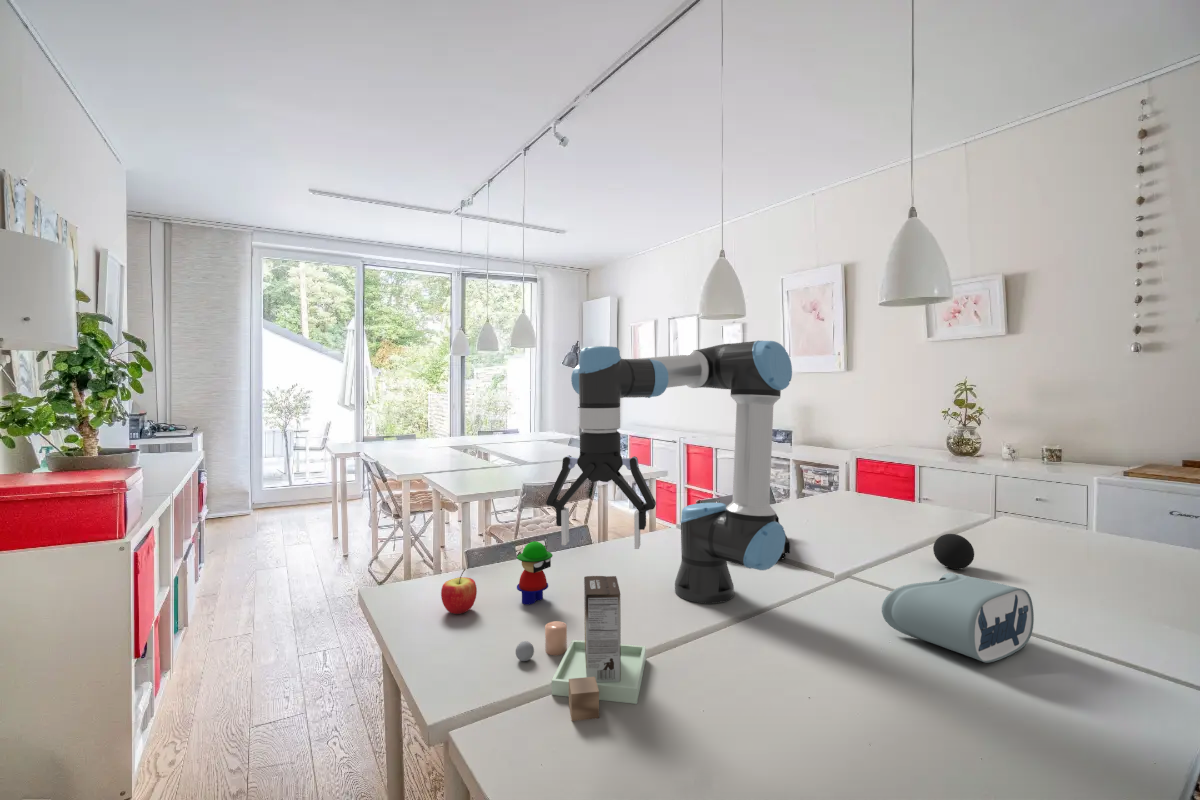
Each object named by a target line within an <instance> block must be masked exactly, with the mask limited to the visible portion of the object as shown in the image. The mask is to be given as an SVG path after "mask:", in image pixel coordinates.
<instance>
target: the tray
mask: <svg viewBox="0 0 1200 800" xmlns="http://www.w3.org/2000/svg"><path fill="white" fill-rule="evenodd" d="M646 660H647V646H645V645H635V644H627V643H626V644H624V643H621V681H620V682H597V686H598V690H599V701H604V702H605V701H606V702H615V703H616V702H617V703H626V704H633V705H634V704H635V705H637V704H638V700H639V695H640V691H641V685H642V681H643V675H644V670H645V666H646V662H647V661H646ZM584 677H586V660H585V640H578V639H577V640H576V639H572V640H571V641H570V643H569V645H568V646H567V651H566V652H565V653H564V654H563V657H562V659H561V661H560V663H559V665H558V667H557V668H556V671H555V672H554V675H553V676H552V679H551V695H552V696H559V697H568V698H569V679H573V678H584Z"/></svg>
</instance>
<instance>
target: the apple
mask: <svg viewBox="0 0 1200 800" xmlns="http://www.w3.org/2000/svg"><path fill="white" fill-rule="evenodd" d="M465 571H466V568H464V569H463V570H462V572H461V574H460V577H459V576H458V577H455V578H452V579H451V578H450V579H449V580H447V581H445V582H444V583H443V584H442V587H441V592H440V596H441V597H440V598H441V603H442V605H443V607H444V608H445V610H447V612H449V613H450V614H454V615H460V614H464V613H467V612H468V611H470V609H471V608H473V606H474V603H475V602H476V599H477V593H478V591H477V584H476V581H475V580H474V578H471V577H465V576H463V574H464V572H465Z"/></svg>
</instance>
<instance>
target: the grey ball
mask: <svg viewBox="0 0 1200 800" xmlns="http://www.w3.org/2000/svg"><path fill="white" fill-rule="evenodd" d="M534 653H535V647H534V645H533V644H532V642H530V641H527V640H523V641H521V642H519V643H518V644H517V646H516V647H515V655H516V656H515V657H516V658H517V659H518V660H519V661H521V662H528V661H530V660H531V659H532V658H533V656H534Z"/></svg>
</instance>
